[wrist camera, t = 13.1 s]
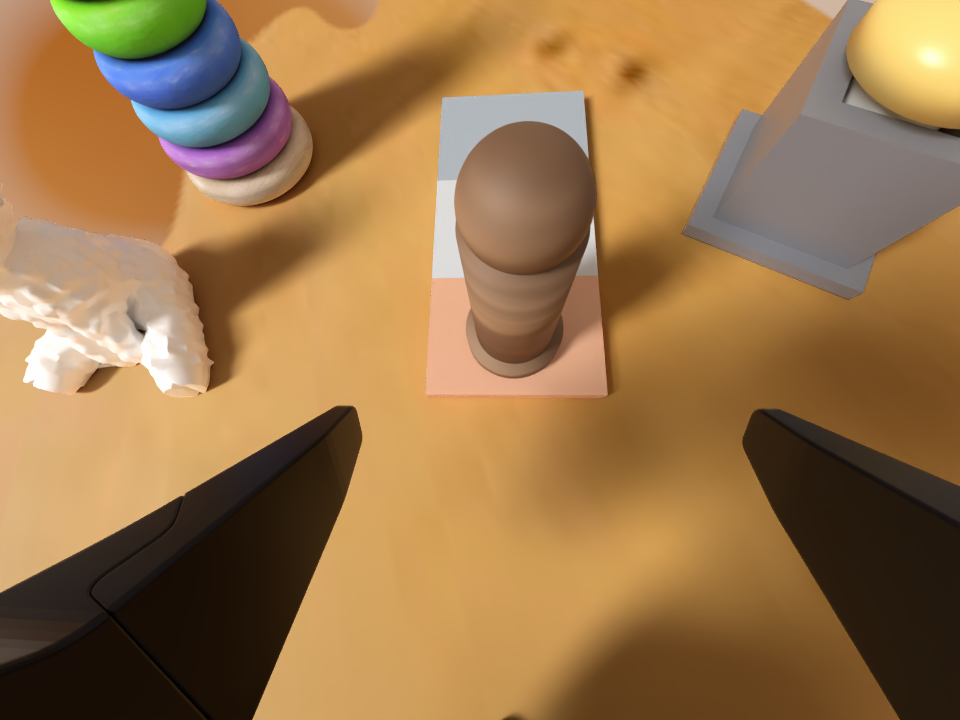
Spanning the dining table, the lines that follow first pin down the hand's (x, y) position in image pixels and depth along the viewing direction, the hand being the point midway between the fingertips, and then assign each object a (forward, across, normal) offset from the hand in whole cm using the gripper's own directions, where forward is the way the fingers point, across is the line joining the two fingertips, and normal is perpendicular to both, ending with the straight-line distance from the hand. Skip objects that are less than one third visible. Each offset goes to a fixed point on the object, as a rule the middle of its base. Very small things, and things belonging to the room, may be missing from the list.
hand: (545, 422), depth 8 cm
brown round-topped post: (+11, +1, +2) cm, 11 cm away
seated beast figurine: (+12, +22, +2) cm, 25 cm away
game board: (+16, 0, -2) cm, 16 cm away
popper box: (+17, -15, -3) cm, 23 cm away
